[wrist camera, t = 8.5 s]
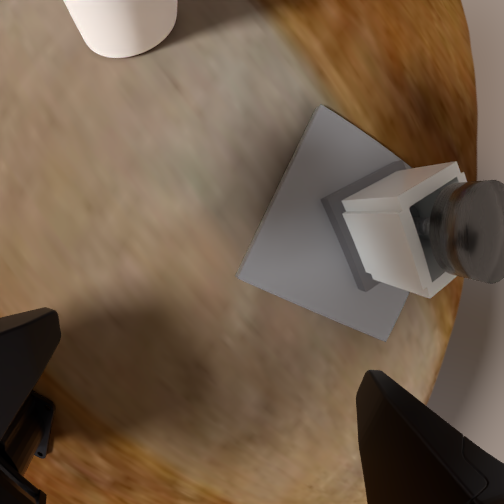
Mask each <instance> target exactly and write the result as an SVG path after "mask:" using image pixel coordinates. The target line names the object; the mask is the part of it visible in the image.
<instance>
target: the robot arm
mask: <svg viewBox="0 0 504 504" xmlns="http://www.w3.org/2000/svg"><path fill="white" fill-rule="evenodd" d="M60 338H61V331H60V325H59V318H58V314H57V312H56V311H55V310H53V309H50V308H46V307H44V308H40V309H36V310H31V311H27V312H23V313H19V314H14V315H10V316H6V317H2V318H0V504H46V494H45V493H44V492H43V491H41V490H40V489H39V490H38V489H37V488H36V487H35V486H34V485H32V484H31V483H30V482H29V481H28V480H27V479H25V478H24V477H23V476H24V474H25V472H26V470H27V468H28V466H29V464H30V462H31V460H32V458H33V456H34V455H35V456H37V457H39V458H43V459H44V458H45V457H46V455H47V450H48V444H49V438H50V432H51V427H52V422H53V417H54V412H55V405H54V403H53V402H51V401H50V400H48V399H46V398H44V397H43V396H41V395H39V394H37V393H35V392H34V391H32V389H33V387H34V386H35V384H36V383H37V381H38V380H39V378H40V376H41V375H42V373H43V371H44V369H45V367H46V365H47V363H48V362H49V360H50V358H51V356H52V354H53V352H54V351H55V349H56V347H57V345H58V343H59V341H60ZM46 405H47V406H49V407H50V408H48V407H47V406H46ZM356 407H357V424H358V442H359V450H360V456H361V462H362V469H363V475H364V482H365V488H366V495H367V503H368V504H504V463H502V462H500V461H499V460H497V459H496V458H494V457H493V456H491V455H490V454H488V453H487V452H485V451H484V450H482V449H481V448H480V447H479V446H477V445H476V444H474V443H473V442H472V441H471V440H469V439H468V438H467V437H465V436H464V437H463V434H461V433H460V432H459V431H458V430H456V429H455V428H454V427H452V426H451V425H450V424H449V423H447V422H446V421H445V420H443V419H442V418H441V417H440V416H438V415H437V414H436V413H434V412H433V411H432V410H431V409H429V408H428V407H427V406H426V405H424V404H423V403H422V402H420V401H419V400H418V399H417V398H415V397H414V396H413V395H412V394H410V393H409V392H408V391H406V390H405V389H404V388H403V387H401V386H400V385H399V384H398V383H396V382H395V381H394V380H393V379H391V378H390V377H389V376H387V375H386V374H385V373H384V372H382V371H380V370H368V371H367V372H366V373H365V375H364V377H363V380H362V382H361V384H360V387H359V389H358V391H357V395H356ZM40 452H41V453H40Z"/></svg>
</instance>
